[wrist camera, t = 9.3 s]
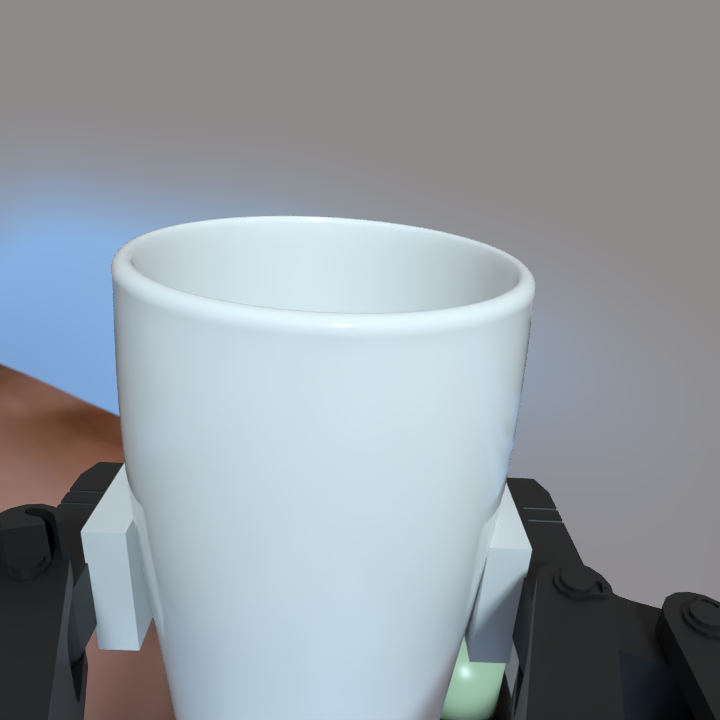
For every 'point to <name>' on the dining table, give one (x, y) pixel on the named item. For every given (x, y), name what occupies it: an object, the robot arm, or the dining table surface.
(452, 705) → the button
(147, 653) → the dining table surface
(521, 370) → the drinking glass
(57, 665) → the robot arm
